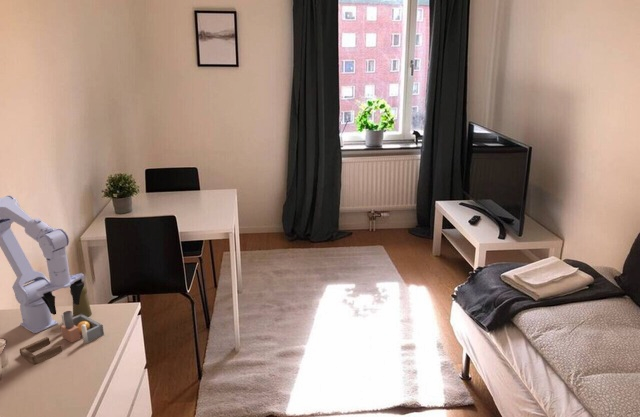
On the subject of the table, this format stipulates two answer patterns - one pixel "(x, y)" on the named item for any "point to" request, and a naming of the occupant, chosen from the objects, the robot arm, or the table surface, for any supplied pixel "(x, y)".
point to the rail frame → (43, 355)
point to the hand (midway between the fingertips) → (65, 308)
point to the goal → (88, 335)
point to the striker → (70, 328)
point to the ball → (82, 324)
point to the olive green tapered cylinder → (82, 305)
